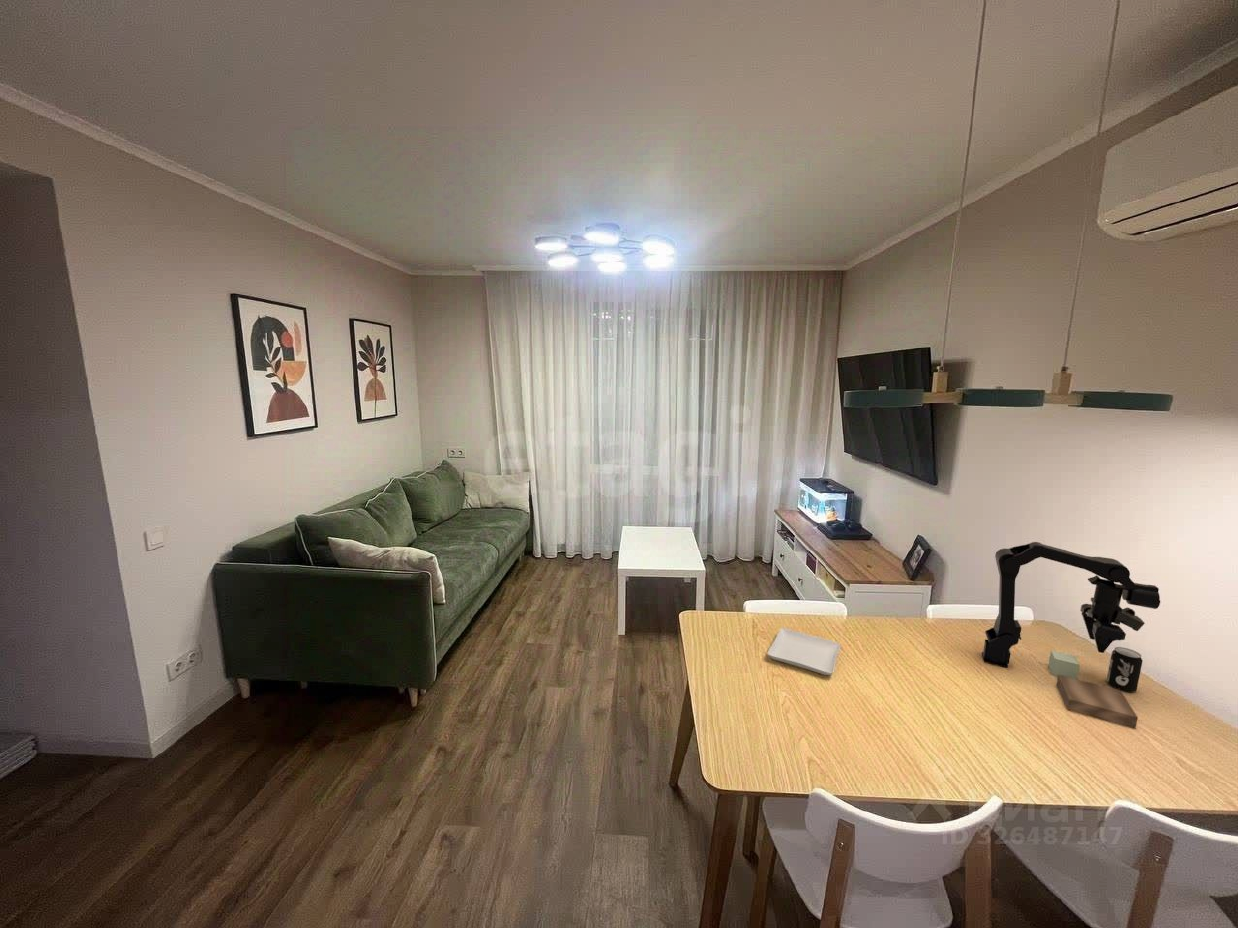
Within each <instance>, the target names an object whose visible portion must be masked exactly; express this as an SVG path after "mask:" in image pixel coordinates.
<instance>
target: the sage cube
mask: <svg viewBox="0 0 1238 928" xmlns="http://www.w3.org/2000/svg"><path fill="white" fill-rule="evenodd" d="M1047 666H1048V668H1049V671H1050V673H1051V675H1052V676H1053V677H1057V678H1058V675H1062V676H1066V677H1070V678H1074V679H1078V678H1079V673H1080V672H1079V671H1080V666H1081V664H1080V663H1079V661H1078V659H1077V656H1076V655H1073V654H1071V653H1070V654H1069V653H1065V652H1061V651H1060V652H1059V651H1056V650H1052V649H1051V650H1050V653H1049V660H1048V665H1047ZM1078 680H1079V679H1078Z"/></svg>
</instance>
